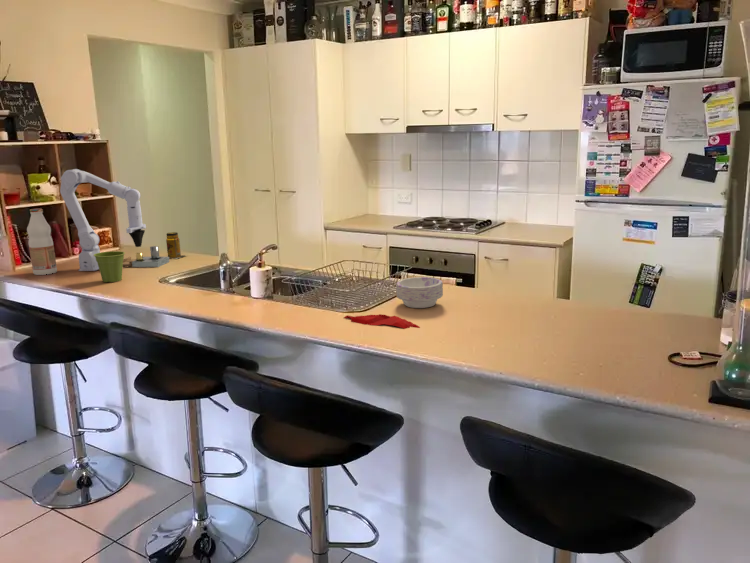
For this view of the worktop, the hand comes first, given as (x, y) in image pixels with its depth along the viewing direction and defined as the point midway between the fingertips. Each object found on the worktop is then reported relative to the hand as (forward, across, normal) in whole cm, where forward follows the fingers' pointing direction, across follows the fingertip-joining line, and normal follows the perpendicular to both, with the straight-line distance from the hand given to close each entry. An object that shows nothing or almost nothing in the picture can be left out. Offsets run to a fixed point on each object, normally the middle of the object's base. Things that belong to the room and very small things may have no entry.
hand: (138, 246), depth 283 cm
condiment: (+9, +22, -8) cm, 25 cm away
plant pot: (+9, -30, -2) cm, 31 cm away
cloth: (+10, -85, -118) cm, 146 cm away
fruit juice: (+9, -14, +36) cm, 40 cm away
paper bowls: (+9, -66, -128) cm, 145 cm away
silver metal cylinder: (+9, +5, -5) cm, 11 cm away
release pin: (+7, 0, 0) cm, 7 cm away
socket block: (+9, +4, -4) cm, 10 cm away
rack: (+9, +4, +7) cm, 12 cm away
